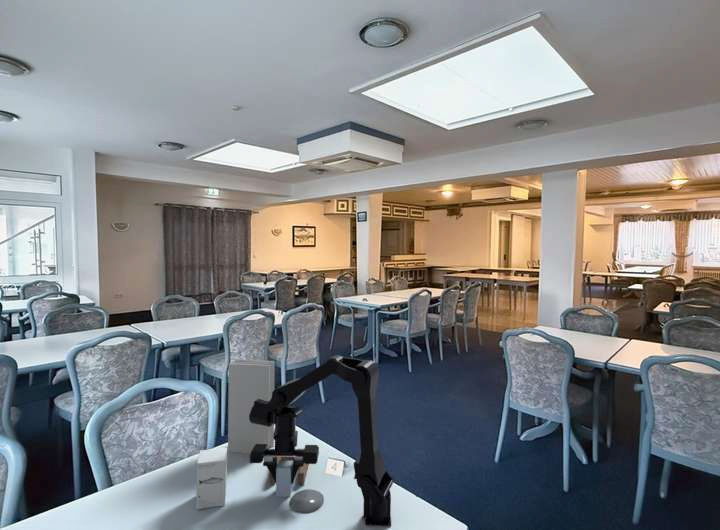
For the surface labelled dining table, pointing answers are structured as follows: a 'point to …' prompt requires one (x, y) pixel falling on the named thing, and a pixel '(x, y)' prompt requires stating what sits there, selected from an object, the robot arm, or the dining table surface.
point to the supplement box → (211, 478)
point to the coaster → (307, 500)
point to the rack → (301, 473)
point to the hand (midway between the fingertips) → (284, 483)
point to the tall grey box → (248, 403)
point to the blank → (284, 478)
